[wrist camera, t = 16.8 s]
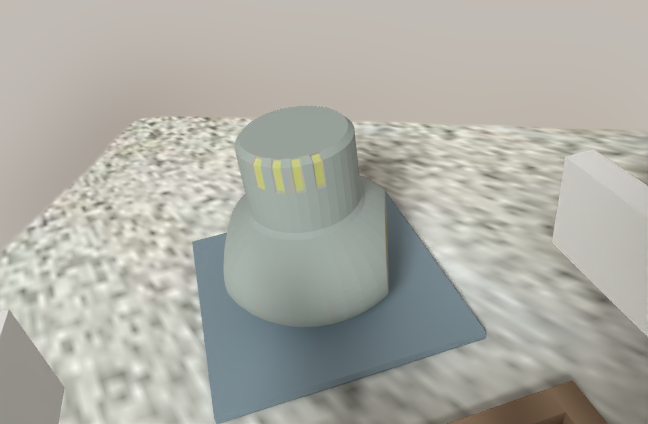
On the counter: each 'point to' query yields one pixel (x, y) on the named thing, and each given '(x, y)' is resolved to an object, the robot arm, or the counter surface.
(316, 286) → the air freshener
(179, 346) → the counter surface
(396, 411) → the counter surface
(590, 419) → the wooden frame
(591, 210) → the robot arm
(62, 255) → the counter surface
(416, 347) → the rubber mat
